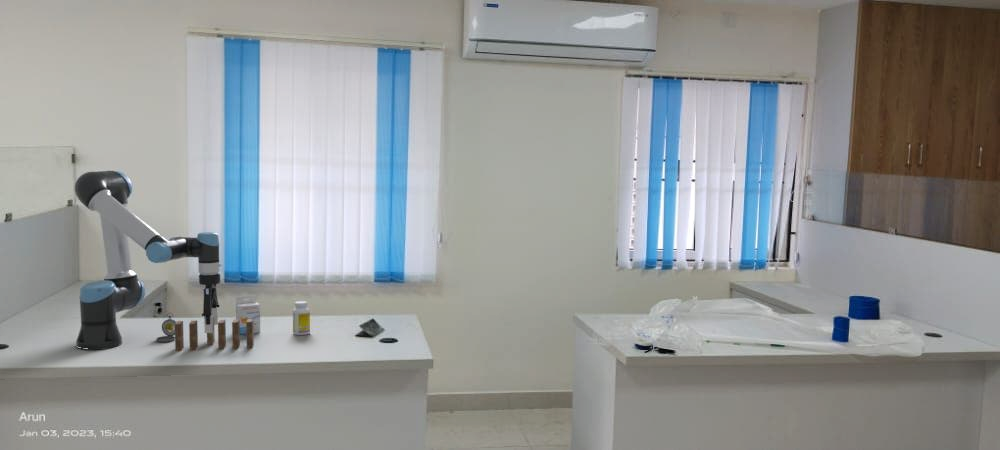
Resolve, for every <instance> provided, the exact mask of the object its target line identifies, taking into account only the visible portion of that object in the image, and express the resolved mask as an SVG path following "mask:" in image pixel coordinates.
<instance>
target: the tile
mask: <svg viewBox="0 0 1000 450" xmlns="http://www.w3.org/2000/svg"><path fill="white" fill-rule="evenodd" d="M212 325H213V333H206V345H207V346H213V345H214V344H215V342H216V339H215V338H216V336H215V335H216V334H215V331H216V330H215V325H214V316H212Z"/></svg>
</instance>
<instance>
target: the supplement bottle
mask: <svg viewBox="0 0 1000 450" xmlns="http://www.w3.org/2000/svg"><path fill="white" fill-rule="evenodd" d="M307 306H308V301H303V300H301V301H295V302H294V308H293V309H292V333H293V335H296V336H306V335H309V334H310V333H311V321H310V320H311V315H310V314H311V310H310V308H308V307H307Z"/></svg>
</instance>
